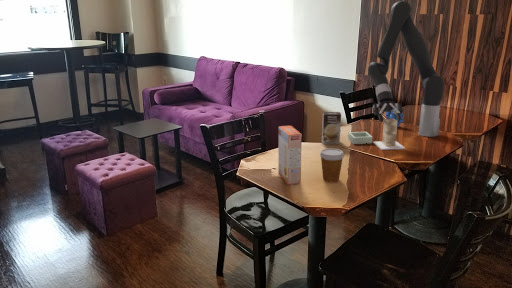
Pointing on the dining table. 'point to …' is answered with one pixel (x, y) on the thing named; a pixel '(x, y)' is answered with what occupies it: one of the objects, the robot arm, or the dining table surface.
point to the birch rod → (389, 132)
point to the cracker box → (290, 154)
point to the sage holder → (359, 137)
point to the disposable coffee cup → (331, 164)
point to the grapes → (394, 117)
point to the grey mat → (383, 147)
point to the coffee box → (331, 127)
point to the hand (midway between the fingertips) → (390, 121)
